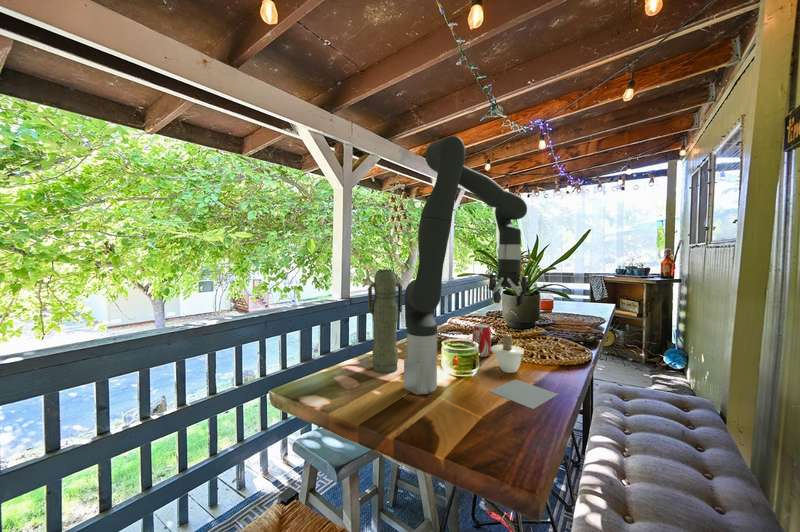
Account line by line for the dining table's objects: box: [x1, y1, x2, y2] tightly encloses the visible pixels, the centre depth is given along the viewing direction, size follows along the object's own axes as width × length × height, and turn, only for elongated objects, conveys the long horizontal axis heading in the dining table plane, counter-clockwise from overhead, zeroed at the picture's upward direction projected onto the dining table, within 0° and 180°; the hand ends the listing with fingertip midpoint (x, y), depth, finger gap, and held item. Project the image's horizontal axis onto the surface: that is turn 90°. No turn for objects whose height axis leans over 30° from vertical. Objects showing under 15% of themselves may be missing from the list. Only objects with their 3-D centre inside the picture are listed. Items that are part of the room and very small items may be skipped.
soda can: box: [472, 323, 492, 358], centre depth 134 cm, size 7×7×12 cm
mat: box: [488, 379, 559, 410], centre depth 98 cm, size 14×14×1 cm
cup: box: [495, 354, 522, 374], centre depth 117 cm, size 8×10×7 cm
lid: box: [490, 333, 525, 357], centre depth 117 cm, size 11×11×6 cm
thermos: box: [367, 269, 403, 374], centre depth 118 cm, size 9×12×35 cm
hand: (507, 304), depth 116 cm, fingers open, 8 cm apart
